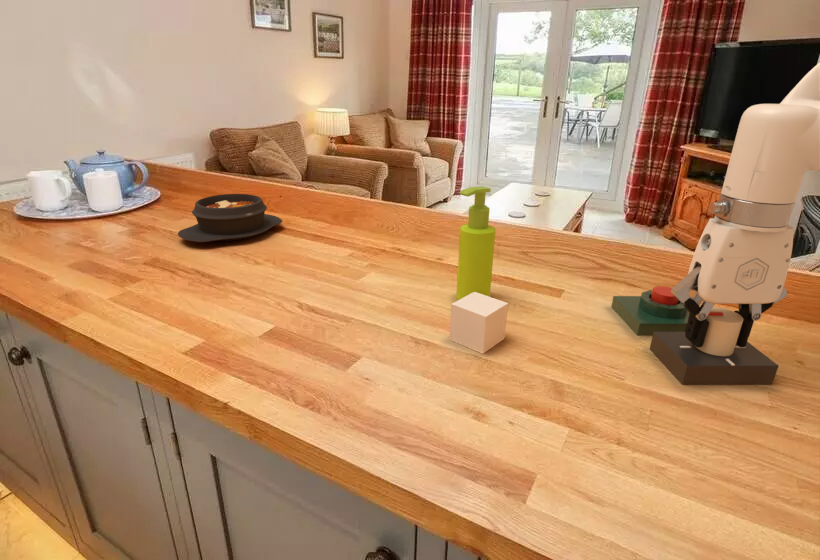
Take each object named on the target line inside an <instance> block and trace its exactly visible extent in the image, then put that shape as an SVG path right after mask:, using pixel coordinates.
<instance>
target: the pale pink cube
mask: <svg viewBox="0 0 820 560" xmlns="http://www.w3.org/2000/svg"><path fill="white" fill-rule="evenodd" d="M508 309H509V303H508V302H506V301H503V300H501V299H497V298H494V297H492V296H490V297H489V296H486V295H483V294H480V293H477V292H473V293H471V294H469V295H467V296H466V297H464V298H462V299H460V300H455V301H454V302H452V303H451V304H450V323H449V341H450V342H451V341H452V342H454V343H456V344H458V345H461V346H463V347H465V348H468V349H470V350H473V351H475V352H476V353H480V354H481V355H483V354H485V353H486V352H488V351H489V350H490V349H492V348H494V347H495V346H496V345H498V344H499V343H501V342H502V341H503V340H505V338H506V327H507V321H508V320H507V318H508Z"/></svg>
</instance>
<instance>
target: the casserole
mask: <svg viewBox="0 0 820 560" xmlns="http://www.w3.org/2000/svg"><path fill="white" fill-rule="evenodd" d="M267 209H268V206H267V205H266V204H265V203H264V202H263V199H262V197H260V196H258V195H254V194H249V193H248V194H247V193H225V194H217V195H216V194H215V195H211V196H206V197H203V198H201V199H198V200H197V201H196V202H195V203H194V207H193V209H192V211H191V215H193V216H194V217H195V219H196V222H197V223H196V224H194V225H191V226H189V227H186V228H183V229H180V230H179V231H178V232H177V236H178V237H179V238H180V239H182V240H185V241H188V242H195V243H209V242H217V241H222V242H231V241H233V242H234V241H240V240H245V239H249V238H253V237H256V236H257V235H260V234H263V233H265V232H267V231H269V230H270V229H271V228H274V227H276V226H279V225H281V224H282V223H283V219H281V218H280V217H279V216H276V215H273V214H267V213H265V212H266V211H267Z"/></svg>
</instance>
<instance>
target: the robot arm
mask: <svg viewBox="0 0 820 560" xmlns="http://www.w3.org/2000/svg"><path fill="white" fill-rule="evenodd" d="M737 127H738V128H737V130H736V131H737V132H736V135H735V138H734V142H733V146H732V150H731V154H730V158H729V161H728V165H727V170H726V173H725V177H724V180H723V185H722V188H721V192H720V194H719V196H718V200H717V201H711V202H710V203H709V205H708V212H709V213H710V214H714V217H711V218H709V219H708V222H707V223H706V225H705V227H704V229H703V231H702V233H701V236H700V238H699V240H698V242H697V245H696V247H695V250H694V253H693V256H692V258H691V261H690V264H689V268H688V272H687V274H686V276H684V277H683V278H682V279H681V280H680V281H679V282H677V283H676V284H675V285H674V286H672V287H671V288H672V289H671V293H672V294H673V295H674V296H675V297H676V298H677V299H678V300H679V301H680V302H681V303H682V304H683V305H684V306H685V308H686V309H687V311H688V312H690V314H689V318H688V322H687V325H686V329H685V337H686V338H687V339H688V340H689V341H690V342H691V343H692V344H694V345H695V346H696V347H702V346H703V344H704V340H705V337H706V333H707V330H708V326H709V321H708V320H707V319H706V317H707V316H708V314H709V312H710V311H711V309H712V308H713V307H715V305H716V304H719V305H723V304H724V305H738V310H733V311H734V312H736V313H738V314H739V315H741V316H742V317H743V323H742V326H741V329H740V333H739V336H738V339H737V342H736V345H738V346H739V347H745V346H746V344H747V342H748V340H749V337H750V335H751V332H752V329H753V326H754V323H755V322H756V321H759V320H761V318H762V314H764V313H765V312H766V311H767V310H769V309H771V308H772V307H773V306H774V305H775V304H776V303H779V302H780V301H782V300H783V299H785V298H786V297H787V296H788V294H789V293H788V291H787V289H786V287H785V283H786V279H787V276H788V274H789V273H788V272H789V268H790V263H791V258H792V254H793V246H794V227H793V226H792V225H790V224H789V223H790V219H791V216H792V214H793V211H794V207H795V205H796V202H797V198H798V195H799V192H800V189H801V186H802V183H803V180H804V177H805V173H806V172H808V171H817V172H820V62H818V63H816V65H815V66H813V67H812V68H811V70H809V71H808V72H807V73H806V74H805V75H804V76H803V77H802V78H801V79H800V80H799V82H798V83H797V84H796V85H795V86H794V87H793V88H792V89H791V90H790V91H789V93H788V94H787V95H786V96H785V97H784V98H783V99H782V101H781V102H779V103H758V104H753V105H750V106H749V107H747V108H746V110H744V111H743V113H742V115H741V117H740V120H739V124H738V126H737ZM691 291H694V293H693V295H692V297H691V295H690V292H691Z"/></svg>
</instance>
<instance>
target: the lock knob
mask: <svg viewBox="0 0 820 560" xmlns="http://www.w3.org/2000/svg"><path fill="white" fill-rule="evenodd" d="M734 311H735V310H731V309H728V308H724V307H718V306H713V308H712V309H711V311H710V312H709V314H708V316H707V317H706V319H707V320H708V321H709V326H708V330H707V333H706V337H705V340H704V344H703V346H702V347H696V346H695V345H694V346H695V347H696V348H697V349H699V350H701V351H703V352H705V353H708V354H711V355H715V356H730V355H732V354H733V352H734V348H735V345H736V342H737V339H738V336H739V333H740V329H741V326H742V323H743V317H742V316H741V315H739V314H738V313H736V312H734Z"/></svg>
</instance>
